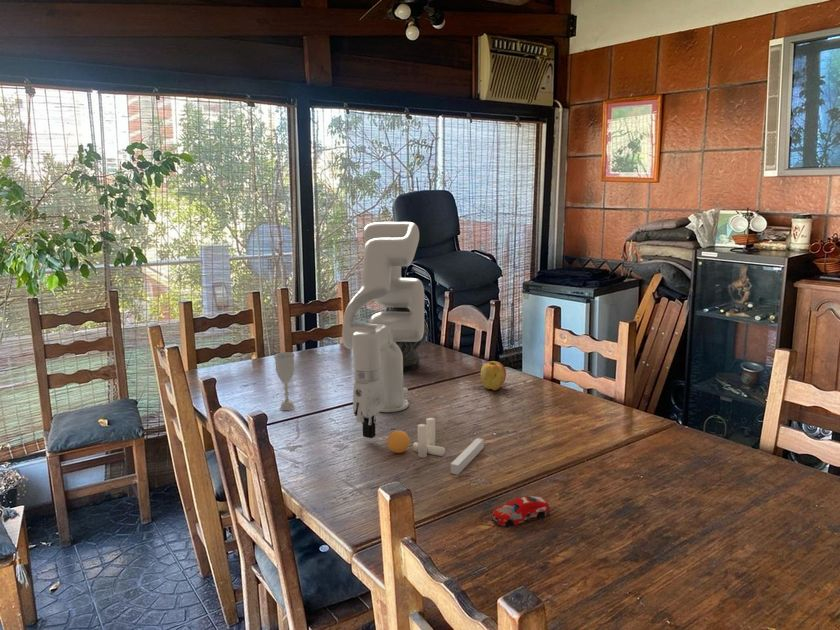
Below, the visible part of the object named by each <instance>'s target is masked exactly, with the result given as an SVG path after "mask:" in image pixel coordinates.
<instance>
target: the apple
mask: <svg viewBox="0 0 840 630" xmlns="http://www.w3.org/2000/svg"><path fill="white" fill-rule="evenodd" d="M506 377H507V371H506V368H505V365H504V364H502V363H501V362H499V361H495V360H493V361H492V360H491V361H487V362H486V363H484V364H483V365H482V366H481V369H480V380H481V382H482V385H483V387H485V389H487V390H490V389H492V390H491V391H497V390H499V389H500V388H501V387H502V386H503V385H504V383H505V381H506Z"/></svg>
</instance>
